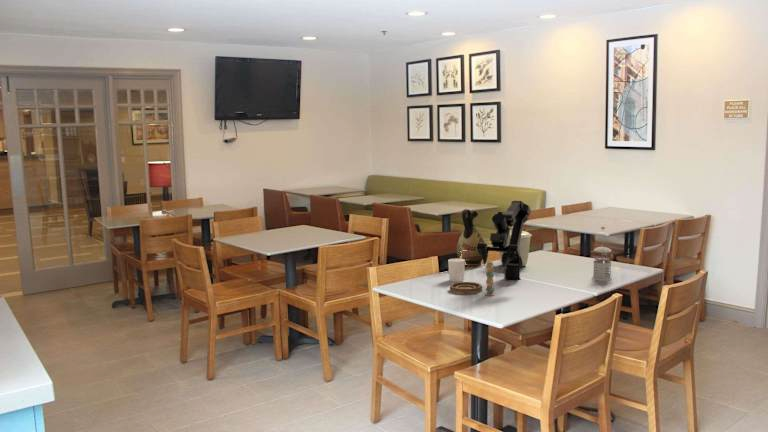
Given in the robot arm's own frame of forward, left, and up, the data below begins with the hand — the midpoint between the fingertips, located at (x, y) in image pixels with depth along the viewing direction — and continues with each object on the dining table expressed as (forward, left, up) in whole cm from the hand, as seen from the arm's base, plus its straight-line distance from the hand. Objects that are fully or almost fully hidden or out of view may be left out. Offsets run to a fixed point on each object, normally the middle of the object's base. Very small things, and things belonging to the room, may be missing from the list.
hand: (494, 265), depth 295 cm
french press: (-56, -19, -12) cm, 61 cm away
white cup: (+13, -24, -12) cm, 30 cm away
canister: (-22, -54, -12) cm, 60 cm away
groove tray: (+12, -4, -12) cm, 17 cm away
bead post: (+3, +5, -12) cm, 13 cm away
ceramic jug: (0, -60, -12) cm, 62 cm away
